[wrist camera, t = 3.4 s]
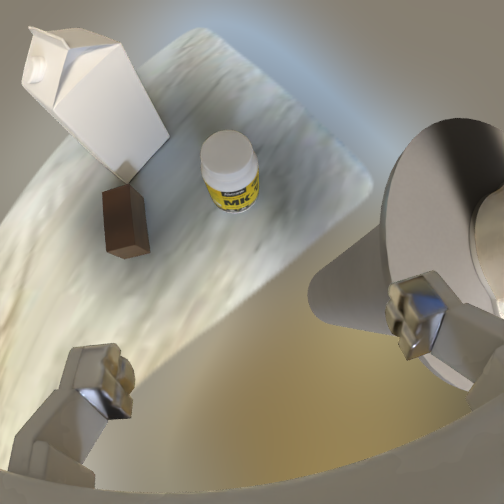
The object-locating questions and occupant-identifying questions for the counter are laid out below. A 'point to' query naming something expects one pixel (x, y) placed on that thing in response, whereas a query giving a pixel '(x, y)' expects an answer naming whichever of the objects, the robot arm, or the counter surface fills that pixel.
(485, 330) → the robot arm
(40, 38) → the milk carton
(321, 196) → the counter surface
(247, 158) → the supplement bottle
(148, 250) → the brown wooden block
